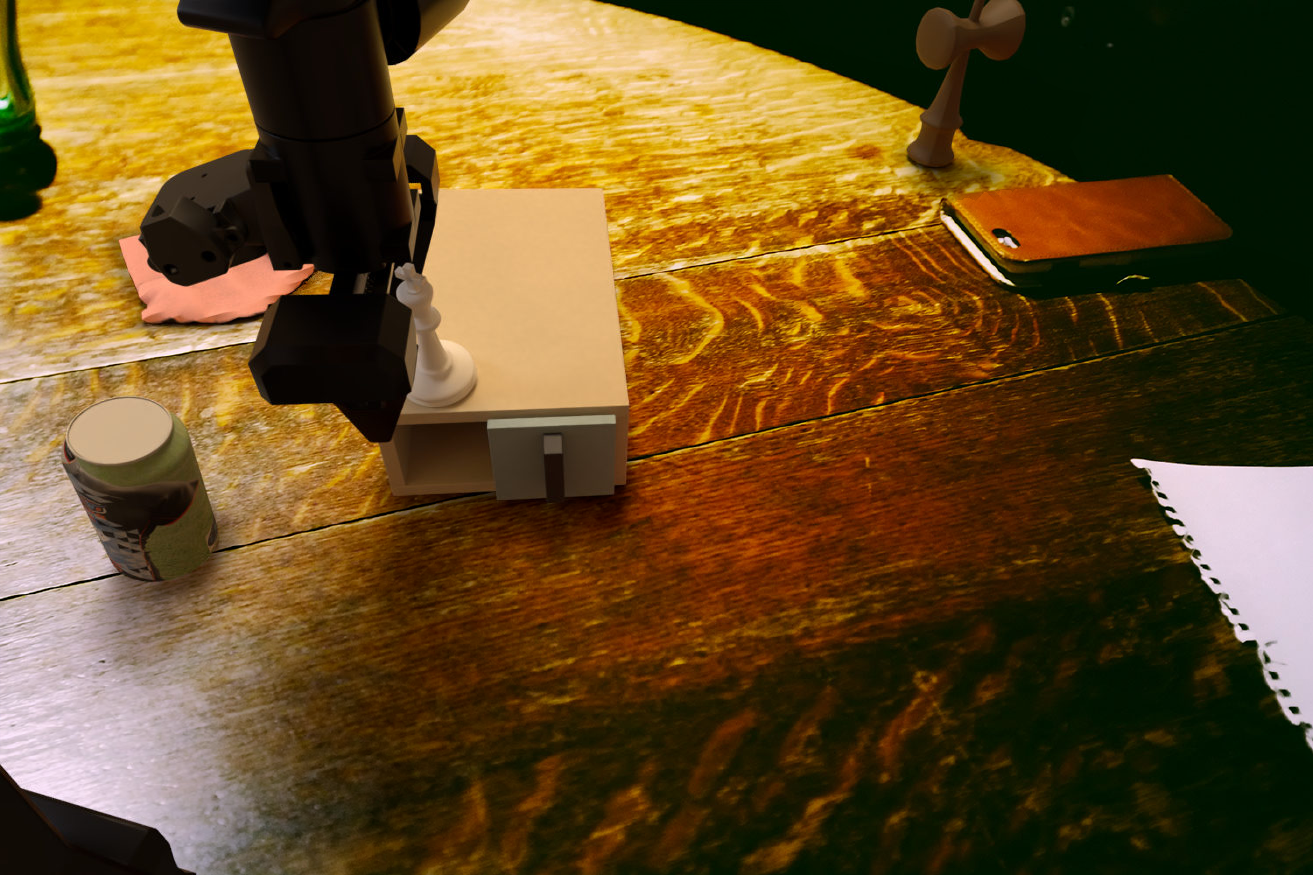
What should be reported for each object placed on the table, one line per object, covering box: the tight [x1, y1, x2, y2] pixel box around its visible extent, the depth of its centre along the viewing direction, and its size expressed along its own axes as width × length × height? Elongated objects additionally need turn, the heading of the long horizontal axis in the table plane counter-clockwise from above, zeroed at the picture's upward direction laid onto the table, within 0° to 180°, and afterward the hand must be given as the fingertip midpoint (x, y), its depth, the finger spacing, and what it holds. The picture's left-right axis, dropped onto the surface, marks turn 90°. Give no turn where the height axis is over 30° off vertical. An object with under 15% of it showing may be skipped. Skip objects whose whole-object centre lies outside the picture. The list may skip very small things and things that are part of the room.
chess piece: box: [394, 263, 477, 407], centre depth 48 cm, size 5×5×10 cm
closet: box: [377, 187, 630, 497], centre depth 63 cm, size 26×16×8 cm, turn 6°
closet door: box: [487, 415, 616, 505], centre depth 54 cm, size 3×8×7 cm, turn 96°
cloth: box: [118, 234, 315, 325], centre depth 74 cm, size 20×22×2 cm
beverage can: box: [60, 395, 219, 583], centre depth 48 cm, size 6×7×12 cm
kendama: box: [906, 0, 1026, 168], centre depth 85 cm, size 6×10×20 cm, turn 117°
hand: (390, 380), depth 46 cm, fingers open, 9 cm apart
